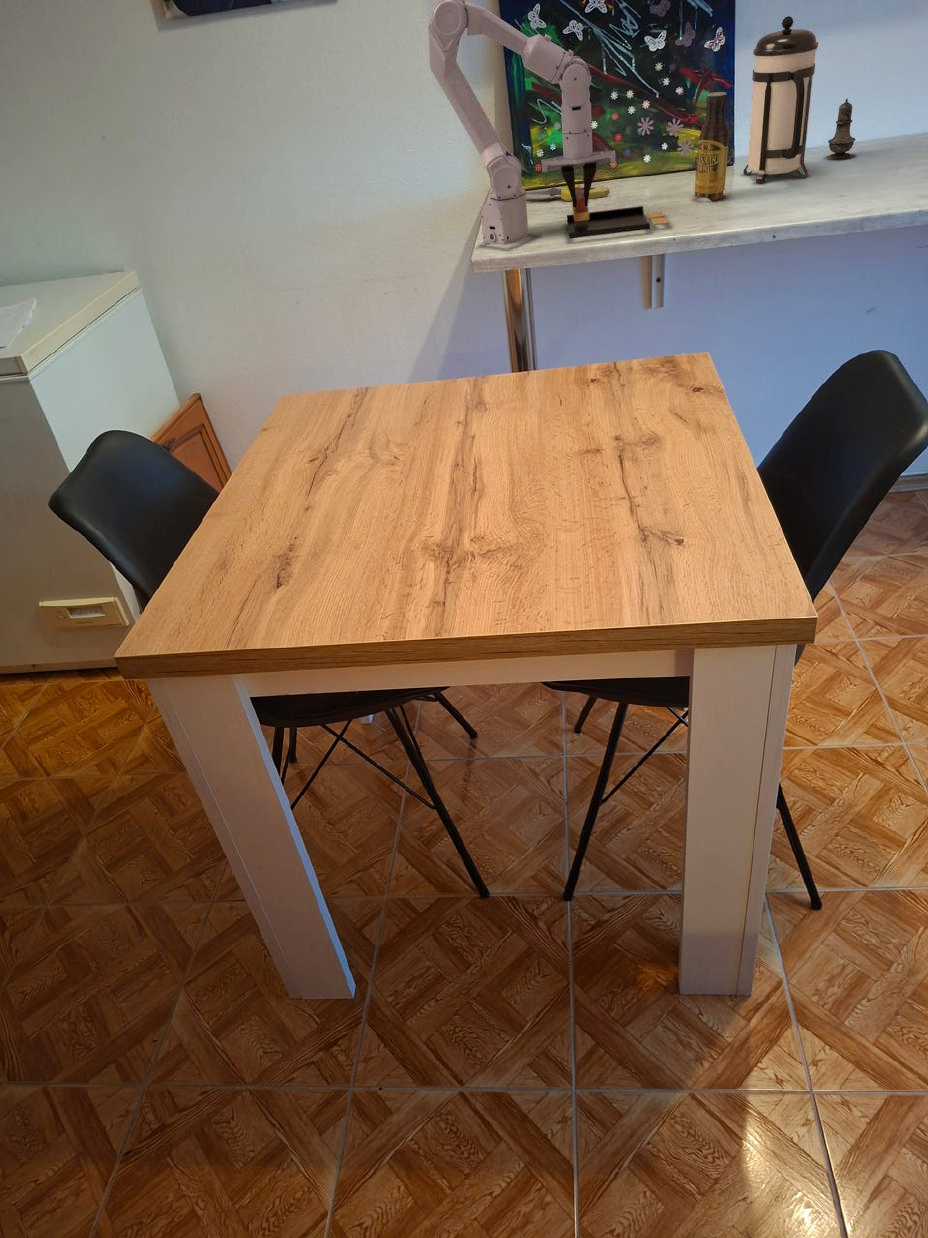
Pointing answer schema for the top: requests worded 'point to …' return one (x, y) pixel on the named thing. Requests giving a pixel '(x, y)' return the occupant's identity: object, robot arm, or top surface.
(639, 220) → the tray
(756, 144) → the coffee press
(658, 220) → the cracker piece
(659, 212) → the cracker piece
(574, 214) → the brush
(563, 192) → the yellow scissors
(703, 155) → the brown glass bottle
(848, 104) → the salt shaker
